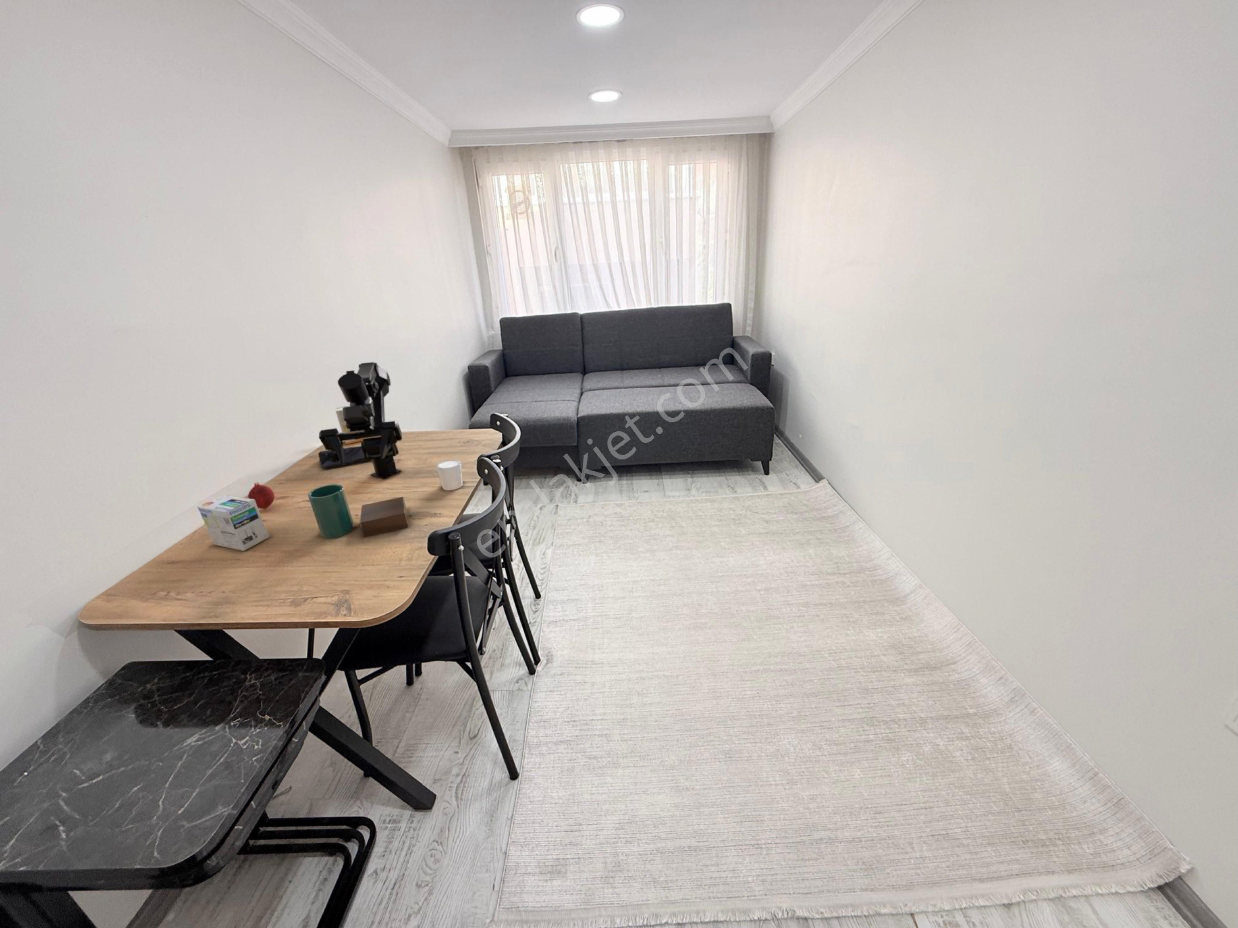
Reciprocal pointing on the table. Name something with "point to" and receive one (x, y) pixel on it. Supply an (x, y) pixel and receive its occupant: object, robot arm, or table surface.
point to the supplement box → (344, 424)
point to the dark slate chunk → (330, 457)
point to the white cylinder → (450, 474)
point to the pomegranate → (261, 495)
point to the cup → (331, 510)
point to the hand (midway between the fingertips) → (362, 461)
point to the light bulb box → (233, 522)
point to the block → (383, 516)
